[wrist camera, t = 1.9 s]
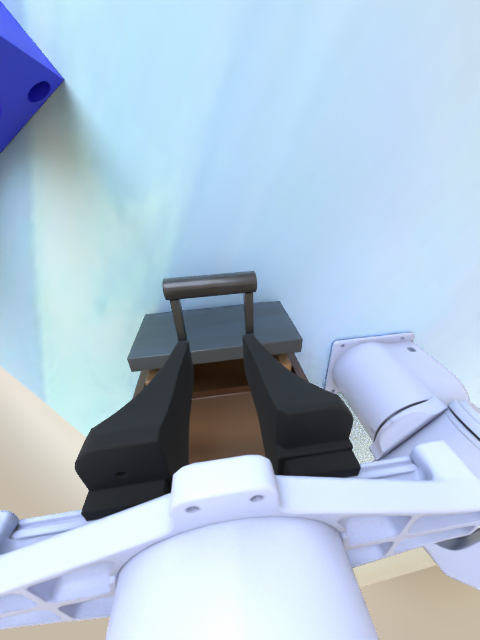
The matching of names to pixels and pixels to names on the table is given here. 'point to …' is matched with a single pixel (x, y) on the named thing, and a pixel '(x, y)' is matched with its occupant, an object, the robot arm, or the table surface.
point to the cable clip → (21, 77)
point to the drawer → (213, 331)
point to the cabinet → (224, 421)
